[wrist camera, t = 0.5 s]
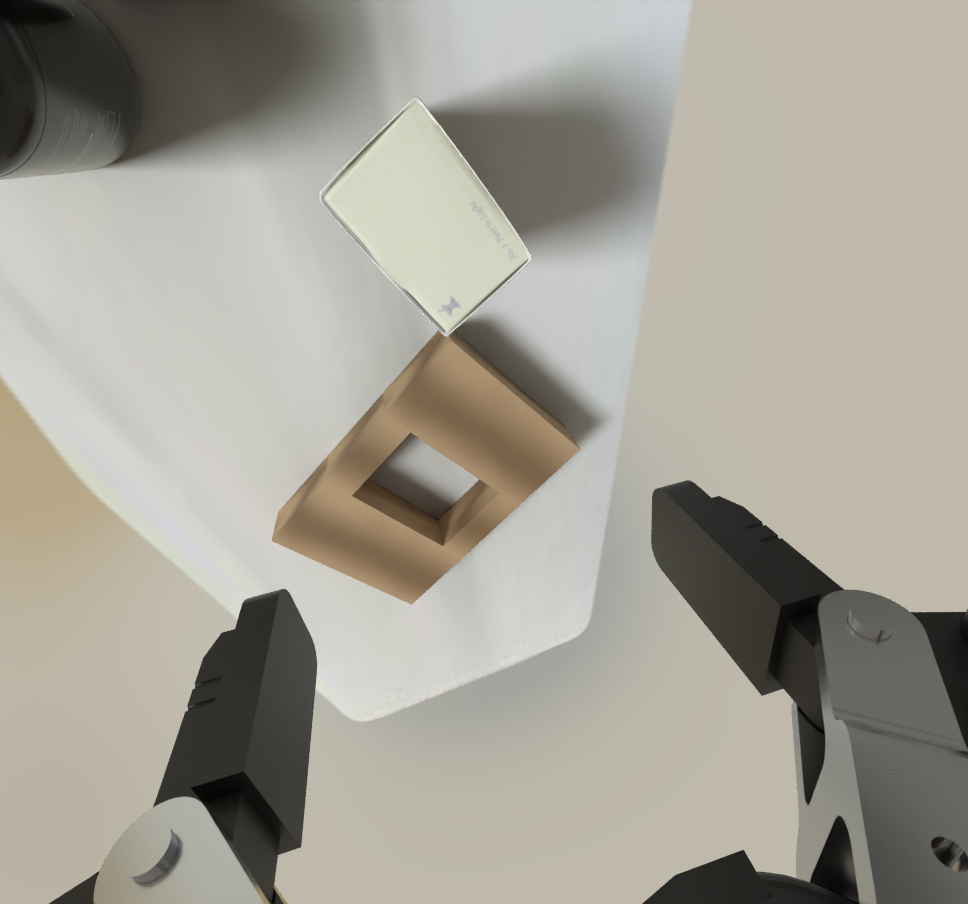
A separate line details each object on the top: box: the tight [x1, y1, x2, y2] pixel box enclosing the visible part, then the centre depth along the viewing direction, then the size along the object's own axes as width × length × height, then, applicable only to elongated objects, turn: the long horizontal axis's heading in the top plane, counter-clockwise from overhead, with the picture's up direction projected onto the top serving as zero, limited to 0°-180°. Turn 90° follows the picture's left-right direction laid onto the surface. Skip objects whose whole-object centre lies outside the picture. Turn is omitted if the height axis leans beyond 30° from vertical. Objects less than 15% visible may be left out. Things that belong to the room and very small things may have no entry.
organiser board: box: [272, 330, 580, 604], centre depth 34 cm, size 18×12×3 cm, turn 136°
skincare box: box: [319, 97, 532, 337], centre depth 21 cm, size 6×4×12 cm
